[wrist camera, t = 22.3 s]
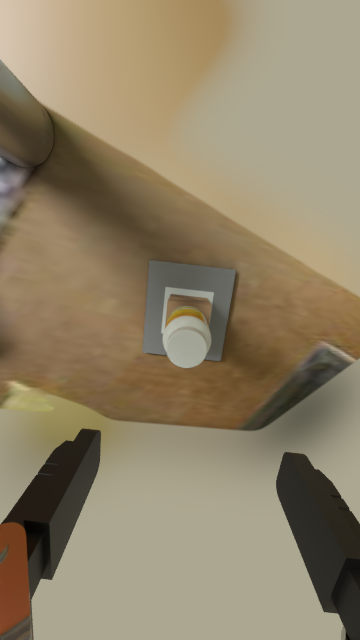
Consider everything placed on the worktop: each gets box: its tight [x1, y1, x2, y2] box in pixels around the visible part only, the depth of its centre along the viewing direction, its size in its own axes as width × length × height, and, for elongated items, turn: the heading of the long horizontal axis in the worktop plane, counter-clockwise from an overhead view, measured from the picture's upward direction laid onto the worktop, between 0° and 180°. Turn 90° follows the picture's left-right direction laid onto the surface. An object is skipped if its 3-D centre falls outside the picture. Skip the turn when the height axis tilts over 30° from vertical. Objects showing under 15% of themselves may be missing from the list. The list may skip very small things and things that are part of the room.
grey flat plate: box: [143, 260, 236, 361], centre depth 38 cm, size 14×16×1 cm
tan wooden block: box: [165, 294, 212, 327], centre depth 34 cm, size 6×6×7 cm
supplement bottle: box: [163, 306, 211, 368], centre depth 26 cm, size 5×5×10 cm
